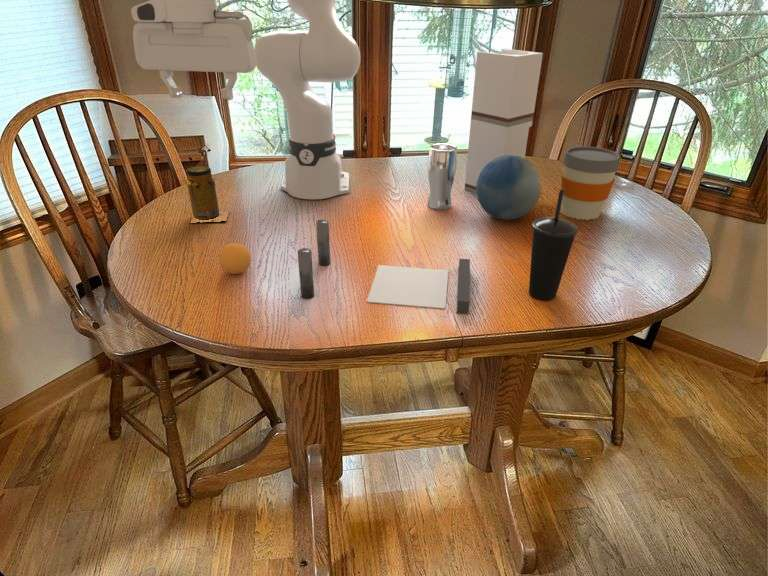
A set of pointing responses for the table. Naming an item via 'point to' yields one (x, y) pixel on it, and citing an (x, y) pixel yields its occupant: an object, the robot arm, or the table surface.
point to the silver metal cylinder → (441, 175)
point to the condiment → (202, 193)
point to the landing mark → (409, 287)
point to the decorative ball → (508, 187)
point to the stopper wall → (463, 286)
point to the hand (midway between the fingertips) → (201, 98)
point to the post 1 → (306, 273)
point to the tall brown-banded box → (501, 108)
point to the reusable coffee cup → (587, 180)
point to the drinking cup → (550, 253)
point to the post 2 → (323, 242)
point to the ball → (234, 258)
